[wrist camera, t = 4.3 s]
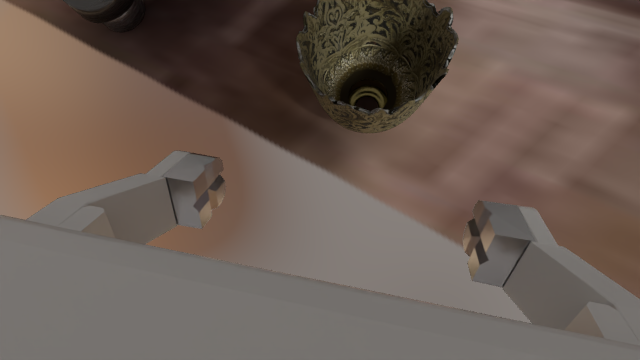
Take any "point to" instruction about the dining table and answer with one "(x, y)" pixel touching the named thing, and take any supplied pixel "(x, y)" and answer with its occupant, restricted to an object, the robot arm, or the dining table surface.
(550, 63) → the dining table surface
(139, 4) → the leveling base
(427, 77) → the cup
